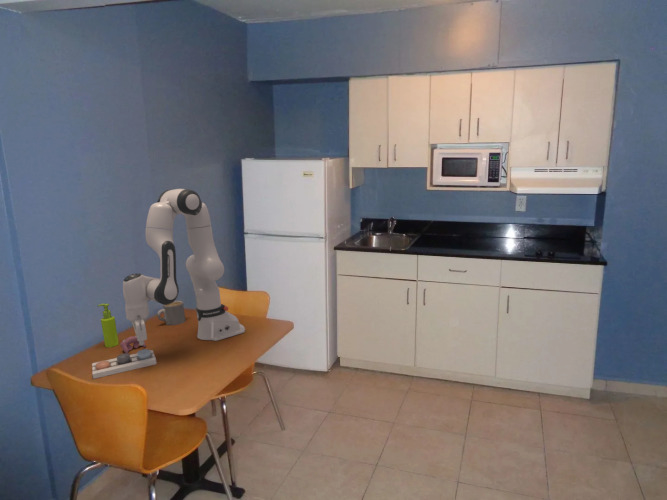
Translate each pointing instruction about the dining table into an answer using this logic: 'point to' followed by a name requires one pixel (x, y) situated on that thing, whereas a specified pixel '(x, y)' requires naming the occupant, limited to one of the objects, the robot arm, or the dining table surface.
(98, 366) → the terracotta button
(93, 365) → the button board
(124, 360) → the charcoal button
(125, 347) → the video game controller
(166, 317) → the coffee mug
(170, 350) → the dining table surface
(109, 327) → the soap dispenser
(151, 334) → the dining table surface
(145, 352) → the pale blue button
